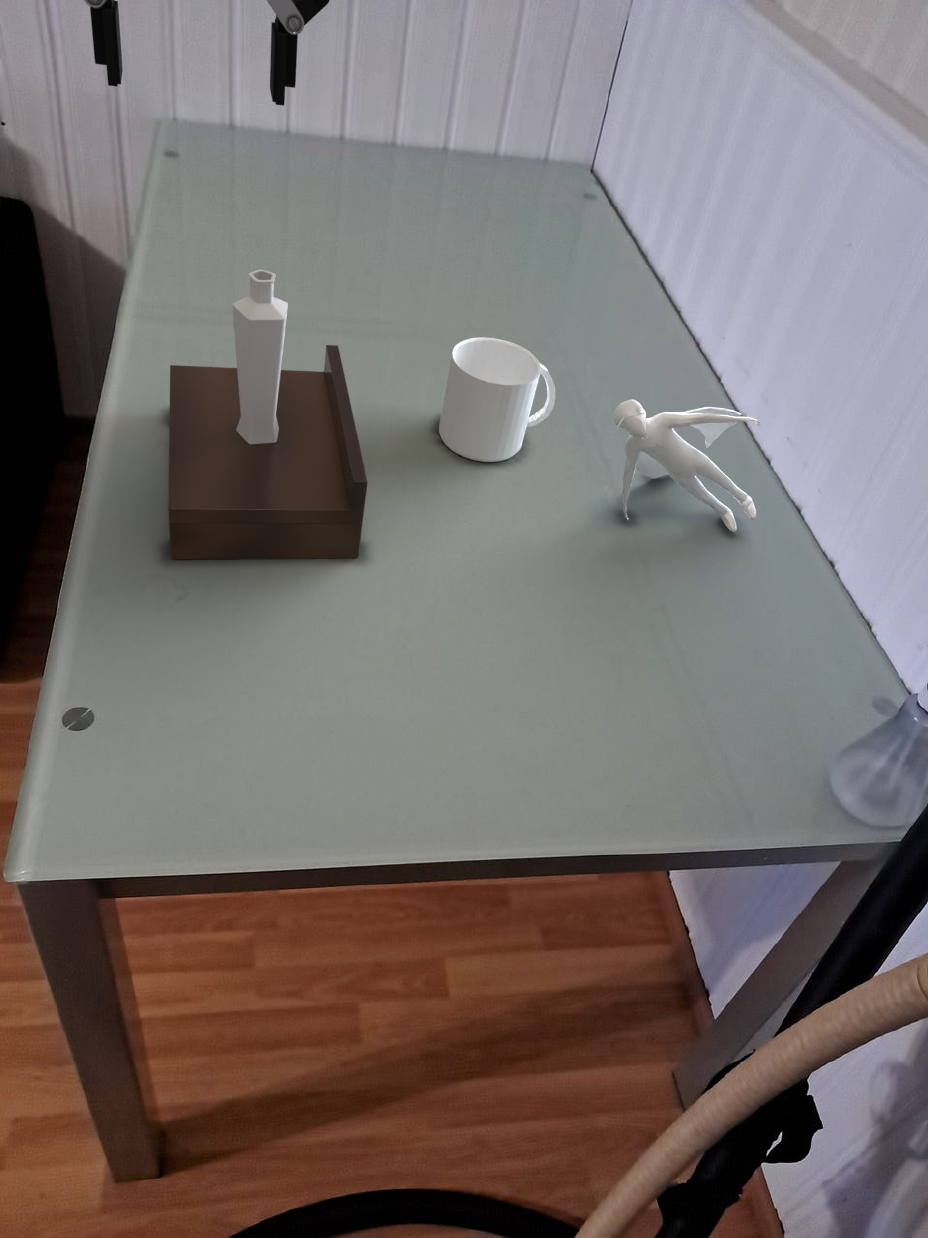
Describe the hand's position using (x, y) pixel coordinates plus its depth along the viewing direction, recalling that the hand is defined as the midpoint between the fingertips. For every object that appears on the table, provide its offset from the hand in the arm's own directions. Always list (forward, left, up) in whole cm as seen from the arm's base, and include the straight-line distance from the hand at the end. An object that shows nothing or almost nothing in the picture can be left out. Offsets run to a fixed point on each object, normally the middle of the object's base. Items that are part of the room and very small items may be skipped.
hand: (198, 88), depth 59 cm
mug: (+30, +16, -36) cm, 50 cm away
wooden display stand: (+5, +8, -36) cm, 38 cm away
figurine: (+45, +5, -36) cm, 58 cm away
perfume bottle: (+5, +8, -31) cm, 32 cm away
